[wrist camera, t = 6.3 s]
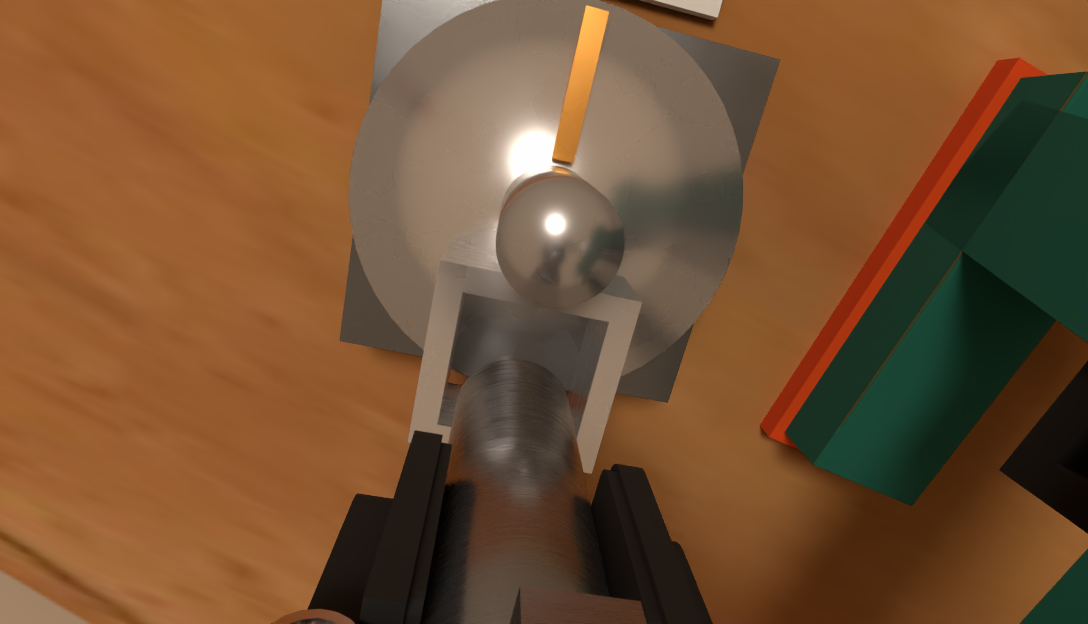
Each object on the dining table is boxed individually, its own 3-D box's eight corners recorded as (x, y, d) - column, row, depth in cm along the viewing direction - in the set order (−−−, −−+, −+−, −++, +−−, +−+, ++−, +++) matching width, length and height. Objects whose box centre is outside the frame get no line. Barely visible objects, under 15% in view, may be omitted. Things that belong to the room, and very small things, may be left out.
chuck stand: (735, 70, 23) (780, 59, 19) (645, 362, 26) (667, 402, 23) (411, -16, 21) (388, -46, 17) (366, 308, 25) (339, 340, 21)
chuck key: (596, 317, 14) (770, 713, 5) (542, 513, 16) (591, 1088, 6) (478, 293, 14) (407, 670, 4) (436, 497, 16) (323, 1082, 6)
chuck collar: (785, 58, 18) (906, 28, 13) (662, 429, 23) (712, 532, 17) (385, -50, 17) (319, -138, 11) (333, 369, 21) (265, 459, 15)
